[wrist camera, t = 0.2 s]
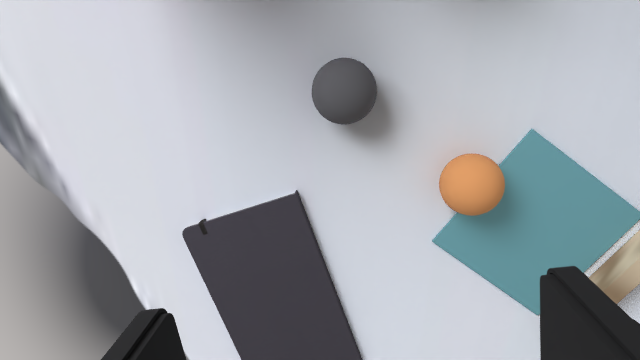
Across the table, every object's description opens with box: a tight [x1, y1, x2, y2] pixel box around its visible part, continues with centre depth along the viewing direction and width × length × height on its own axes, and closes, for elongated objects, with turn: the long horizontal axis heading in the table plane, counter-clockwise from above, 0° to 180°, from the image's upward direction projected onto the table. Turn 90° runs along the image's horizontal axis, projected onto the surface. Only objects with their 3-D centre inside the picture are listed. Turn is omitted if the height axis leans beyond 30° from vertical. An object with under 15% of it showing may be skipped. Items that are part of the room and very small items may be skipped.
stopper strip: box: [589, 230, 640, 304], centre depth 41 cm, size 14×2×2 cm, turn 145°
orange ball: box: [439, 154, 505, 216], centre depth 38 cm, size 6×6×6 cm
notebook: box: [182, 190, 362, 360], centre depth 46 cm, size 13×2×21 cm
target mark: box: [432, 129, 640, 315], centre depth 41 cm, size 14×14×1 cm
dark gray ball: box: [312, 58, 377, 124], centre depth 36 cm, size 6×6×6 cm
